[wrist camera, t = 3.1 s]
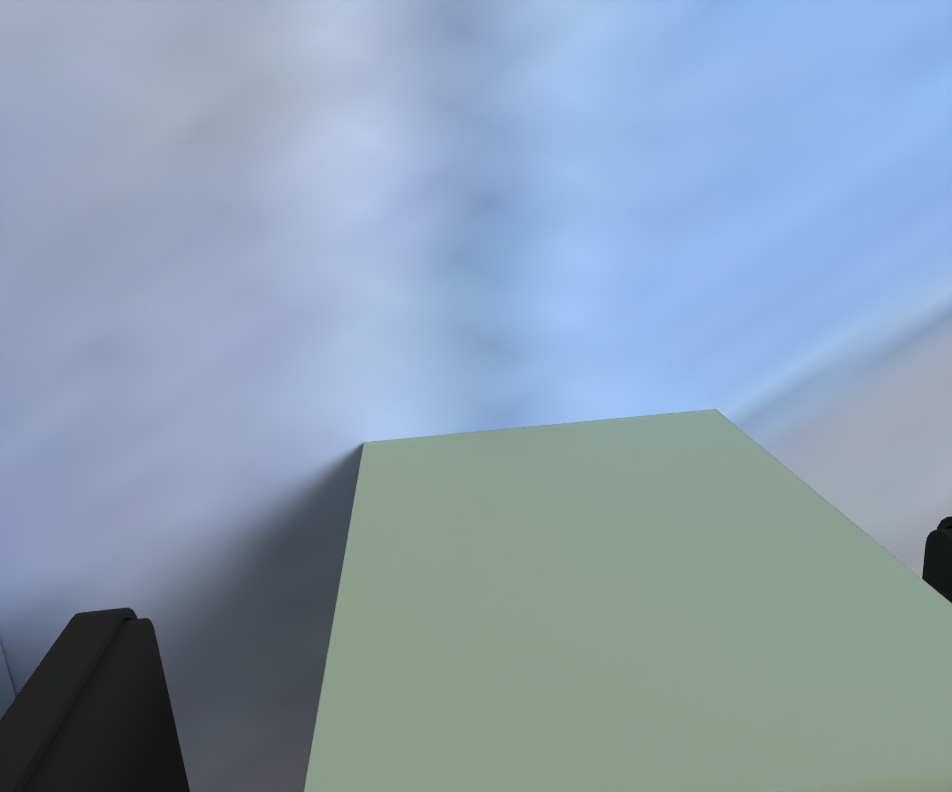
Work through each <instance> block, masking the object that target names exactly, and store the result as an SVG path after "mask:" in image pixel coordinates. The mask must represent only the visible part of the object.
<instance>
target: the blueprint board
mask: <svg viewBox="0 0 952 792" xmlns="http://www.w3.org/2000/svg"><path fill="white" fill-rule="evenodd" d="M15 698H16V697H15V693H14V690H13V686H12V682H11V679H10V675H9V671H8V668H7V664H6V661H5V657H4V653H3V650H2V646H1V642H0V720H1V718H2V717H3V715H4V714H5V713H6V711H7V710H8V708H9V707H10V705H11V704H12V703H13V701H14V700H15Z"/></svg>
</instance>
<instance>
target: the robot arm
mask: <svg viewBox="0 0 952 792" xmlns="http://www.w3.org/2000/svg"><path fill="white" fill-rule="evenodd" d="M922 579H923V580H924V581H925V582H926V583H928V584H929V585H930V586H931V587H932V588H934V589H935V590H936V591H937V592H938V593H940V594H941V595H942V596H943V597H945V598H946V599H947V600H948V601H949V602H951V603H952V516H951V517H946V518H945V519H943V520H942V521H941V522H940V524H939V525H938V527H937V530H934V531H932V532H931V533H930V534H929V535H928V537H927V540H926V545H925V556H924V566H923V576H922ZM0 792H190V791H189V786H188V781H187V777H186V772H185V768H184V763H183V758H182V754H181V749H180V745H179V740H178V736H177V731H176V726H175V722H174V717H173V713H172V708H171V703H170V699H169V694H168V690H167V685H166V681H165V676H164V671H163V667H162V662H161V658H160V653H159V648H158V644H157V639H156V635H155V630H154V627H153V624H152V622H151V621H150V620H149V619H148V618H144V619H137V616H136V614H135V613H134V611H133V610H132V609H130V608H119V609H110V610H101V611H92V612H83V613H78V614H76V615H75V616H74V617H73V618H72V619H71V620H70V622H69V623H68V625H67V626H66V627H65V629H64V630H63V632H62V633H61V635H60V636H59V637H58V639H57V640H56V642H55V643H54V644H53V646H52V647H51V649H50V650H49V652H48V653H47V654H46V656H45V657H44V659H43V660H42V661H41V663H40V664H39V666H38V667H37V669H36V670H35V671H34V673H33V674H32V676H31V677H30V679H29V680H28V681H27V683H26V684H25V686H24V687H23V688H22V690H21V691H20V693H19V694H18V696H17V697H16V698H15V700H14V701H13V703H12V704H11V705H10V707H9V708H8V710H7V711H6V713H5V714H4V715H3V717H2V718H1V720H0Z"/></svg>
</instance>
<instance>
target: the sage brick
mask: <svg viewBox="0 0 952 792" xmlns="http://www.w3.org/2000/svg"><path fill="white" fill-rule="evenodd" d="M304 792H952V603H951V602H949V601H948V600H947V599H946V598H945V597H943V596H942V595H941V594H940V593H938V592H937V591H936V590H935V589H934V588H932V587H931V586H930V585H929V584H928V583H926V582H925V581H924V580H923V579H921V578H920V577H919V576H918V575H917V574H915V573H914V572H913V571H912V570H911V569H909V568H908V567H907V566H906V565H904V564H903V563H902V562H901V561H900V560H898V559H897V558H896V557H895V556H894V555H892V554H891V553H890V552H889V551H887V550H886V549H885V548H884V547H883V546H881V545H880V544H879V543H878V542H877V541H875V540H874V539H873V538H872V537H871V536H869V535H868V534H867V533H866V532H864V531H863V530H862V529H861V528H860V527H858V526H857V525H856V524H855V523H854V522H852V521H851V520H850V519H849V518H847V517H846V516H845V515H844V514H843V513H841V512H840V511H839V510H838V509H837V508H835V507H834V506H833V505H832V504H830V503H829V502H828V501H827V500H826V499H824V498H823V497H822V496H821V495H820V494H818V493H817V492H816V491H815V490H813V489H812V488H811V487H810V486H809V485H807V484H806V483H805V482H804V481H803V480H801V479H800V478H799V477H798V476H796V475H795V474H794V473H793V472H792V471H790V470H789V469H788V468H787V467H786V466H784V465H783V464H782V463H781V462H779V461H778V460H777V459H776V458H775V457H773V456H772V455H771V454H770V453H769V452H767V451H766V450H765V449H764V448H762V447H761V446H760V445H759V444H758V443H756V442H755V441H754V440H753V439H752V438H750V437H749V436H748V435H747V434H745V433H744V432H743V431H742V430H741V429H739V428H738V427H737V426H736V425H735V424H733V423H732V422H731V421H730V420H728V419H727V418H726V417H725V416H724V415H722V414H721V413H720V412H719V411H718V410H716V409H711V410H700V411H690V412H679V413H668V414H658V415H647V416H637V417H626V418H616V419H605V420H595V421H584V422H573V423H563V424H552V425H542V426H531V427H521V428H510V429H500V430H489V431H478V432H468V433H457V434H447V435H436V436H426V437H415V438H404V439H394V440H383V441H373V442H364V445H363V451H362V456H361V462H360V468H359V474H358V480H357V485H356V491H355V497H354V503H353V509H352V515H351V520H350V526H349V532H348V538H347V544H346V549H345V555H344V561H343V567H342V573H341V579H340V584H339V590H338V596H337V602H336V608H335V613H334V619H333V625H332V631H331V637H330V643H329V648H328V654H327V660H326V666H325V672H324V677H323V683H322V689H321V695H320V701H319V707H318V712H317V718H316V724H315V730H314V736H313V741H312V747H311V753H310V759H309V765H308V771H307V776H306V782H305V788H304Z"/></svg>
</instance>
